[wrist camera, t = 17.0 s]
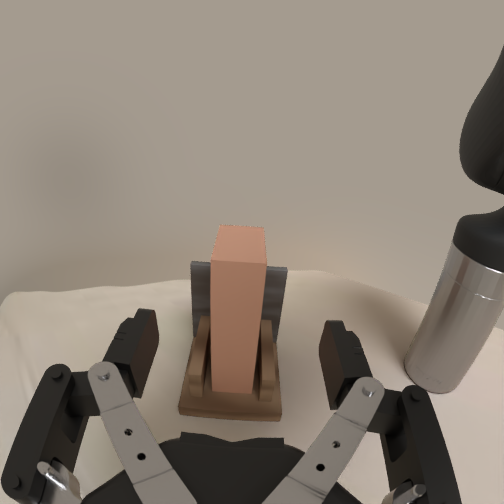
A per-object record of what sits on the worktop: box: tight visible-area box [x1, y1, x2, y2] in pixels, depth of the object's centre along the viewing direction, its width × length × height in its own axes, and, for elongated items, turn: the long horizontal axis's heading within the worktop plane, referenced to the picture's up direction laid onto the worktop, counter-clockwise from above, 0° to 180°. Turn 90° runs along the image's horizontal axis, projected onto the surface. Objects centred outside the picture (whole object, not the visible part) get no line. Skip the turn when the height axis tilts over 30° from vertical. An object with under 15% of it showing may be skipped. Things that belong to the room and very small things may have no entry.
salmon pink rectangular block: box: [210, 225, 267, 394], centre depth 28 cm, size 7×4×15 cm, turn 0°
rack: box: [178, 261, 288, 421], centre depth 29 cm, size 12×10×12 cm
